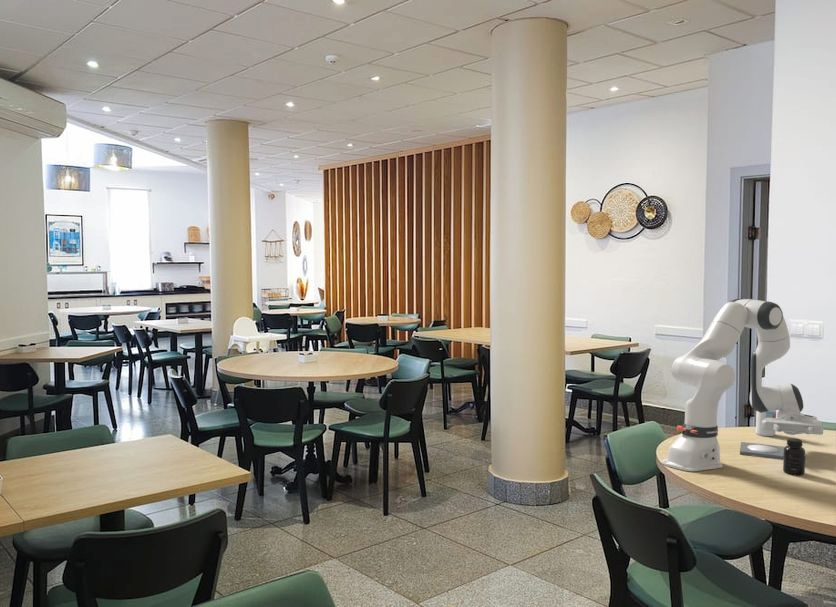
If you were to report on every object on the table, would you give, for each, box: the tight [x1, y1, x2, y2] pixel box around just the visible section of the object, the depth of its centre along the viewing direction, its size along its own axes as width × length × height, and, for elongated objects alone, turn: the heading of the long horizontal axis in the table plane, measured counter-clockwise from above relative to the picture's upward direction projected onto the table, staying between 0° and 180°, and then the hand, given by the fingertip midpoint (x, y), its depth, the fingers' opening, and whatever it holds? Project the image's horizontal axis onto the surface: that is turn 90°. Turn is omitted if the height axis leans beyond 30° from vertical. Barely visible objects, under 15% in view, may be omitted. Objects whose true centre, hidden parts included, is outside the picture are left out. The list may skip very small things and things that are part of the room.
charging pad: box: [739, 441, 785, 460], centre depth 273 cm, size 16×16×1 cm
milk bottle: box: [755, 410, 777, 437], centre depth 301 cm, size 8×8×20 cm
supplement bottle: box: [782, 437, 806, 476], centre depth 245 cm, size 7×7×12 cm
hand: (793, 430), depth 256 cm, fingers open, 8 cm apart
